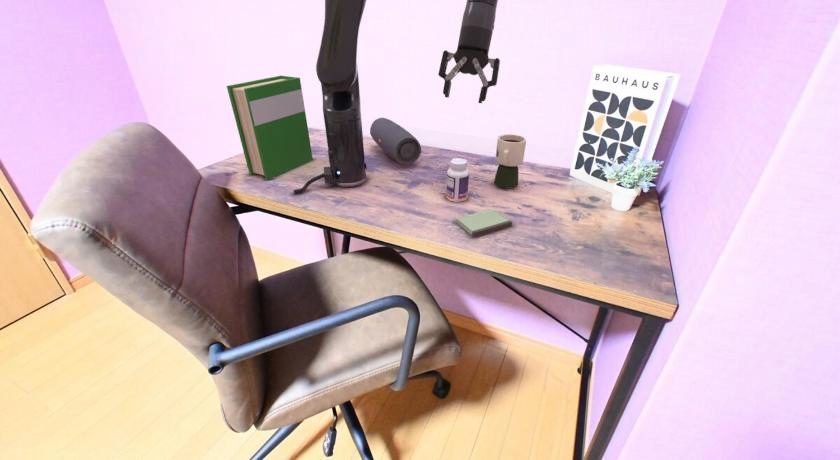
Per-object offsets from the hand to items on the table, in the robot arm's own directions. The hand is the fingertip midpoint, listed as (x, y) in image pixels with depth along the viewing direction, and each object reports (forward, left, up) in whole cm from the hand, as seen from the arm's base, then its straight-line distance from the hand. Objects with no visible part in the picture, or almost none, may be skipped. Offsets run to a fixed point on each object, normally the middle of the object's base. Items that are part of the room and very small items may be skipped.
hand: (463, 100), depth 92 cm
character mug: (+11, -7, -21) cm, 25 cm away
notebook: (-2, -25, -21) cm, 33 cm away
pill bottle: (-4, -11, -21) cm, 24 cm away
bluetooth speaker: (-15, +21, -21) cm, 34 cm away
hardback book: (-49, +19, -21) cm, 57 cm away
